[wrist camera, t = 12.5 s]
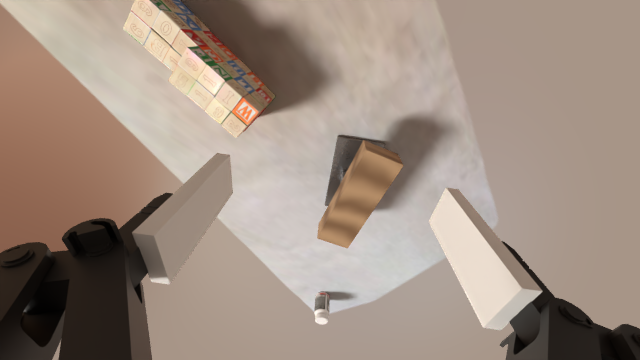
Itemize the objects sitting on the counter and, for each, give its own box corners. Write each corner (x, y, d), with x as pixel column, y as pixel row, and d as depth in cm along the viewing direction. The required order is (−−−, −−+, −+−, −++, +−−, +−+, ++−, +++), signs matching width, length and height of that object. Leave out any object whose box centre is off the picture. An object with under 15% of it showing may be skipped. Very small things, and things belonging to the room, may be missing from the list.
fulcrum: (337, 135, 49) (337, 149, 43) (384, 142, 49) (390, 157, 43) (325, 203, 58) (323, 221, 52) (364, 208, 58) (367, 227, 52)
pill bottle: (313, 296, 79) (310, 321, 72) (320, 289, 77) (318, 315, 69) (324, 301, 80) (323, 326, 73) (332, 294, 78) (331, 320, 71)
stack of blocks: (163, 30, 41) (102, 26, 30) (179, -1, 38) (120, -18, 28) (257, 118, 48) (235, 139, 37) (277, 96, 45) (259, 113, 35)
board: (363, 140, 41) (366, 150, 38) (397, 154, 42) (403, 165, 39) (318, 223, 52) (317, 238, 49) (346, 233, 53) (347, 248, 50)
